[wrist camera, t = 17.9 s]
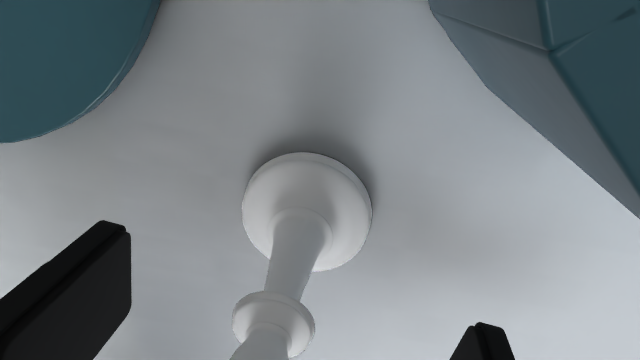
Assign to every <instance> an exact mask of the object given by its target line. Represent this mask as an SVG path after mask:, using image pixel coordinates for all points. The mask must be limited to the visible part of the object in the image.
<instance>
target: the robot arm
mask: <svg viewBox="0 0 640 360" xmlns="http://www.w3.org/2000/svg"><path fill="white" fill-rule="evenodd" d="M131 303H132V300H131V236H130V233H128V232H126V228H125V227H124V226H123V225H119V224H116V223H112V222H108V221H105V220H101V221H99V222H97V223H96V224H95V225H94V226H92V227H91V228H90V229H89V230H87V231H86V232H85V233H84V234H82V235H81V236H80V237H79V238H78V239H76V240H75V241H74V242H73V243H71V244H70V245H69V246H68V247H66V248H65V249H64V250H63V251H62V252H60V253H59V254H58V255H57V256H55V257H54V258H53V259H52V260H50V261H49V262H47V263H45V264H44V265H42V266H41V267H40V268H38V269H37V270H36V271H35V272H34V273H32V274H31V275H30V276H29V277H27V278H26V279H25V280H24V281H22V282H21V283H20V284H19V285H17V286H16V287H15V288H14V289H12V290H11V291H10V292H9V293H7V294H6V295H5V296H4V297H3V298H1V299H0V360H93V359H94V358H95V356H96V355H97V354H98V353H99V351H100V350H101V349H102V347H103V346H104V345H105V344H106V342H107V341H108V340H109V338H110V337H111V336H112V335H113V333H114V332H115V331H116V330H117V328H118V327H119V326H120V324H121V323H122V322H123V321H124V319H125V318H126V317H127V315H128V313H129V311H130V308H131ZM450 360H515V358H514V355H513V353H512V350H511V347H510V345H509V342H508V339H507V337H506V334H505V332H504V330H503V329H502V328H500V327H496V326H493V325H489V324H485V323H482V322H478V323H477V324H476V325H475V326H469V327H468V329H467V330H466V332H465V334H464V335H463V337H462V339H461V341H460V342H459V344H458V346H457V348H456V349H455V351H454V353H453V355H452V356H451V358H450Z"/></svg>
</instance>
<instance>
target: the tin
mask: <svg viewBox="0 0 640 360" xmlns="http://www.w3.org/2000/svg"><path fill="white" fill-rule="evenodd" d="M428 2H429V6H430V9H431V10H432V12H433V15H434V16H435V18H436V19H437V20H438V22H439V23H440V24H441V26H442V27H443V28H444V30H445V31H446V33H447V35H448V36H449V38H450V40H451V41H452V42H453V44H454V45H455V46H456V48H457V49H458V50H459V51H460V53H461V54H462V55H463V57H464V58H465V59H466V61H467V62H468V63H469V64H470V66H471V67H472V68H473V69H474V71H475V72H476V73H477V75H478V76H479V78H480V79H481V80H482V82H483V83H484V84H485V86H486V87H487V88H488V89H489V90H490V91H491V92H493V93H494V94H495V95H496V96H497V97H498V98H500V99H501V100H502V101H503V102H504V103H505V104H507V105H508V106H509V107H510V108H511V109H512V110H514V111H515V112H516V113H517V114H518V115H519V116H521V117H522V118H523V119H524V120H525V121H526V122H527V123H529V124H530V125H531V126H532V127H533V128H534V129H536V130H537V131H538V132H539V133H540V134H541V135H543V136H544V137H545V138H546V139H547V140H548V141H550V142H551V143H552V144H553V145H554V146H555V147H556V148H558V149H559V150H560V151H561V152H562V153H563V154H565V155H566V156H567V157H568V158H569V159H570V160H572V161H573V162H574V163H575V164H576V165H577V166H579V167H580V168H581V169H582V170H583V171H584V172H585V173H587V174H588V175H589V176H590V177H591V178H592V179H594V180H595V181H596V182H597V183H598V184H599V185H601V186H602V187H603V188H604V189H605V190H606V191H608V192H609V193H610V194H611V195H612V196H613V197H615V198H616V199H617V200H618V201H619V202H620V203H621V204H623V205H624V206H625V207H626V208H627V209H628V210H630V211H631V212H632V213H633V214H634V215H635V216H637V217H638V218H639V219H640V0H428Z"/></svg>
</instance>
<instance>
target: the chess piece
mask: <svg viewBox="0 0 640 360" xmlns="http://www.w3.org/2000/svg"><path fill="white" fill-rule="evenodd" d="M241 213H242V221H243V225H244V228H245V231H246V233H247V235H248V237H249V239H250V240H251V242H252V243H253V245H254V246H255V247H256V248H257V249H258V250H259V251H260V252H261V253H262V254H263V255H264V256H266V257H267V258H268V259H270V263H269V268H268V273H267V278H266V283H265V287H264V291H260V292H255V293H251V294H249V295H247V296H245V297H243V298H242V299H241V300H240V301H239V302H238V303H237V304H236V306H235V307H234V310H233V314H232V329H233V332H234V335H235V336H236V338H237V340H238V341H239V342H240V343H241V345H240V347H239V348H238V349H237V350H236V351H235V352H234V354H233V355H232V357H231V358H230V360H289V358H292V357H295V356H297V355H299V354H301V353H302V352H303V351H305V350H306V348H307V347H308V346H309V344H310V342H311V340H312V339H313V337H314V333H315V323H314V319H313V317H312V315H311V313H310V312H309V310H308V309H307V308H306V307H305V306H304V305H303V304H302V303H300V299H301V297H302V294H303V291H304V288H305V286H306V284H307V281H308V279H309V276H310V274H311V272H320V271H326V270H330V269H333V268H336V267H339V266H341V265H343V264H344V263H346V262H348V261H349V260H350V259H352V258H353V257H354V256H355V255H356V254H357V253H358V252H359V250H360V249H361V248H362V246H363V245H364V243H365V241H366V238H367V236H368V232H369V228H370V225H371V220H372V206H371V201H370V198H369V195H368V192H367V190H366V188H365V187H364V185H363V183H362V182H361V181H360V179H359V178H358V177H357V176H356V175H355V174H354V173H353V172H352V171H351V170H350V169H349V168H347V167H346V166H345V165H343V164H342V163H340V162H338V161H336V160H334V159H332V158H330V157H327V156H324V155H320V154H315V153H307V152H297V153H289V154H285V155H281V156H279V157H276V158H274V159H272V160H270V161H268V162H267V163H265V164H264V165H263V166H261V167H260V168H259V169H258V170H257V171H256V172H255V173H254V175H253V176H252V178H251V179H250V181H249V183H248V185H247V188H246V191H245V194H244V197H243V201H242V209H241Z"/></svg>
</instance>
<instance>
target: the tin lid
mask: <svg viewBox="0 0 640 360" xmlns="http://www.w3.org/2000/svg"><path fill="white" fill-rule="evenodd" d="M159 4H160V0H0V143H11V142H18V141H22V140H27V139H31V138H36V137H40V136H42V135H45V134H47V133H49V132H52V131H54V130H57V129H59V128H62V127H64V126H66V125H68V124H71V123H73V122H75V121H76V120H78V119H79V118H81V117H82V116H84V115H85V114H87V113H89V112H90V111H92V110H93V109H95V108H96V107H97V106H98V105H99V104H100V103H101V102H102V101H103V100H104V99H106V98H107V97H108V96H109V95H110V94H111V93H112V92H113V91H114V90H115V89H116V88H117V86H118V85H119V84H120V82H121V81H122V80H123V78H124V77H125V76H126V74H127V73H128V72H129V70H130V69H131V68H132V66H133V65H134V63H135V61H136V59H137V57H138V55H139V53H140V51H141V49H142V48H143V46H144V44H145V42H146V40H147V38H148V36H149V33H150V30H151V27H152V24H153V21H154V19H155V16H156V13H157V10H158V7H159Z"/></svg>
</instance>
